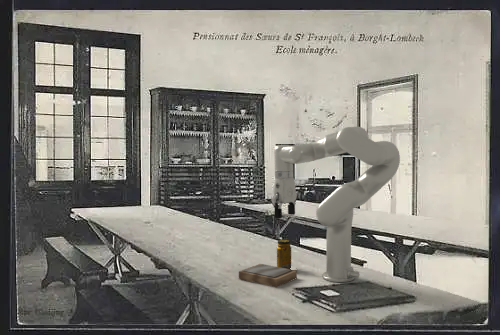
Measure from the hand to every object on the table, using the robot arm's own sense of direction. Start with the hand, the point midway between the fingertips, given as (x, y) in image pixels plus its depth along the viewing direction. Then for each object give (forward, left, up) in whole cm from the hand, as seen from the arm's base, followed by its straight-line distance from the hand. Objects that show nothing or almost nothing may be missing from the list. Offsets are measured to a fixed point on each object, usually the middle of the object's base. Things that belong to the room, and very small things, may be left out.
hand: (285, 216), depth 232 cm
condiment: (-1, 0, -23) cm, 23 cm away
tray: (-3, +16, -22) cm, 28 cm away
